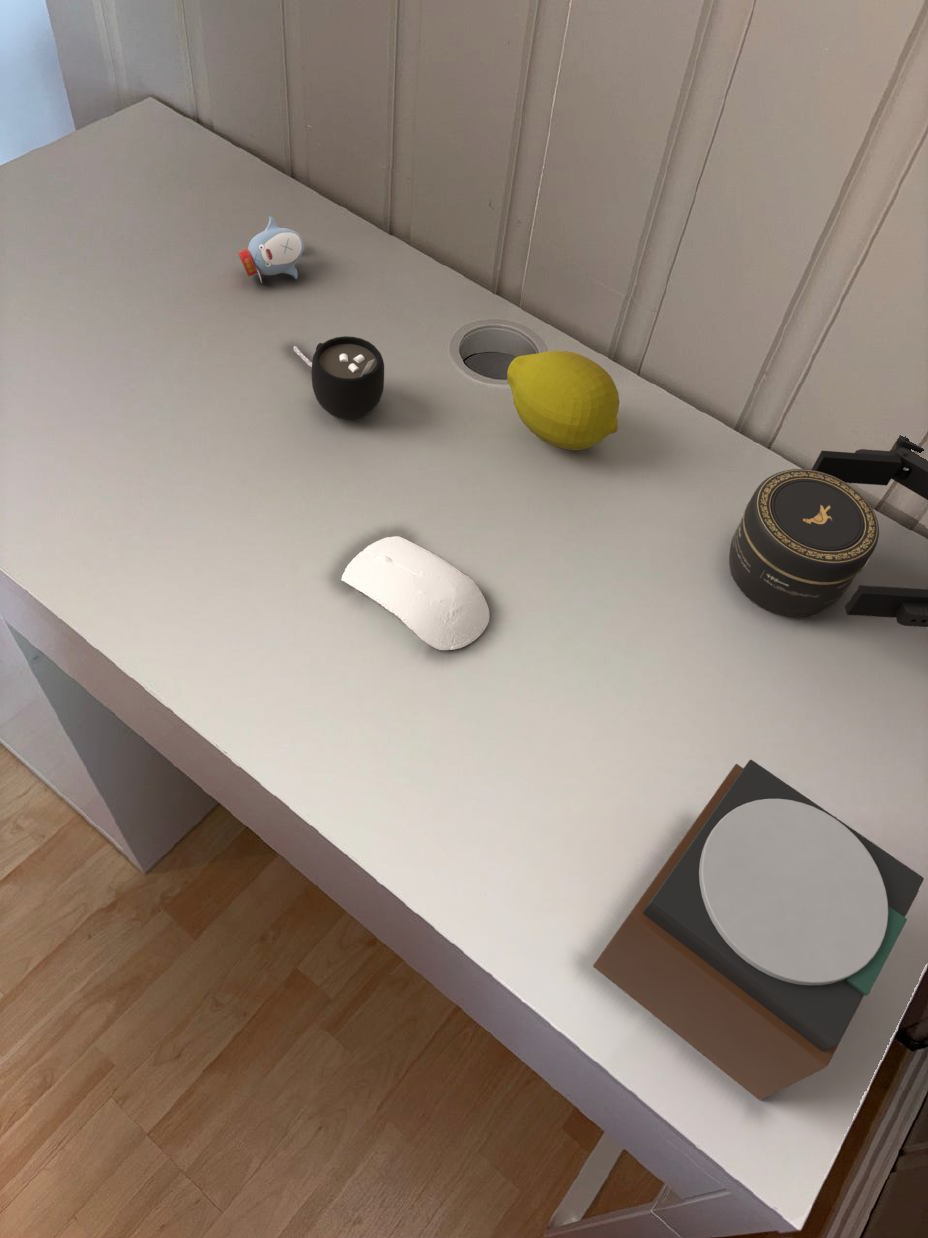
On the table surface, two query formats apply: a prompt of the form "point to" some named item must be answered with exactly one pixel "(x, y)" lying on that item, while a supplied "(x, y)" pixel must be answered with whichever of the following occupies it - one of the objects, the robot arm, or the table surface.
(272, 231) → the figurine
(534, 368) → the lemon
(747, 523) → the jar
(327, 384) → the mug
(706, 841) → the scale
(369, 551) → the computer mouse
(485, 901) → the table surface
